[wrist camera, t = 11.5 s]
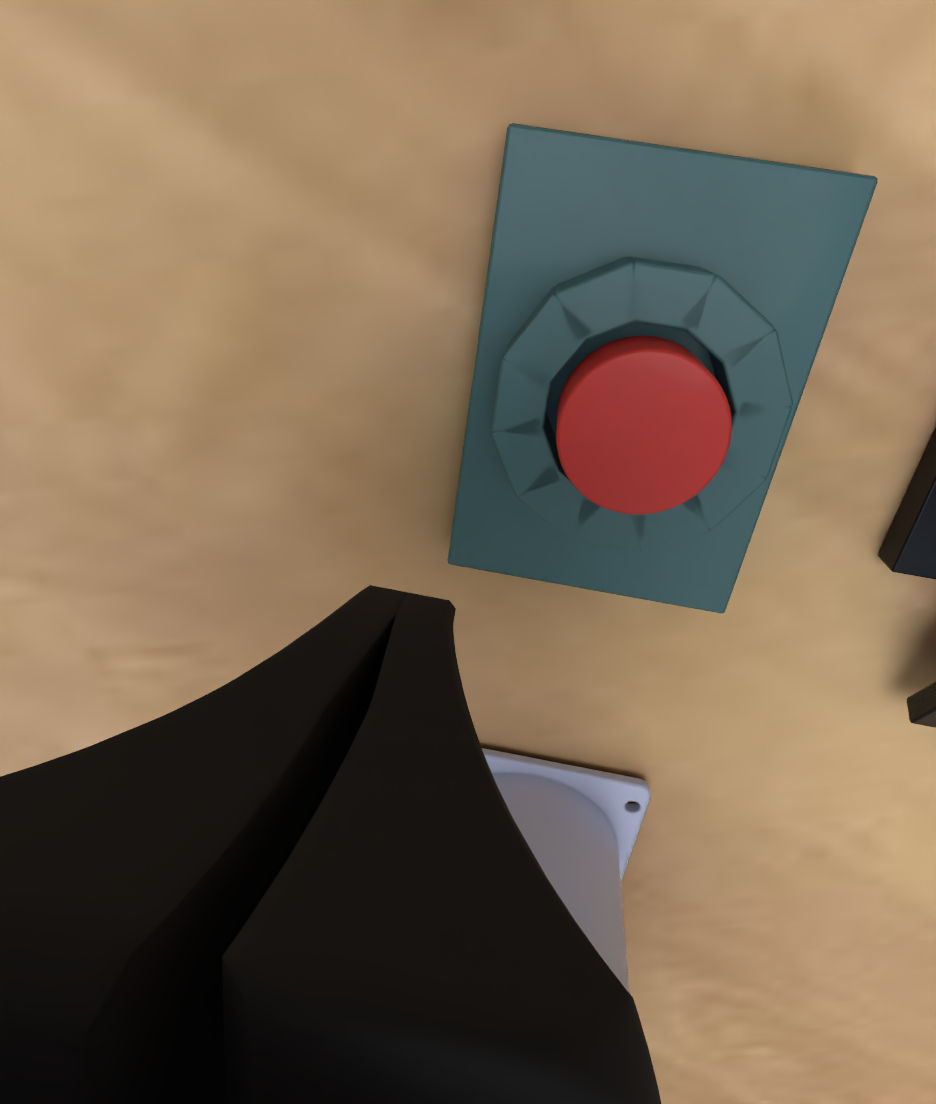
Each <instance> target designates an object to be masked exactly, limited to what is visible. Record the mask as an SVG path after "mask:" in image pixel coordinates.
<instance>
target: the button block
mask: <svg viewBox="0 0 936 1104" xmlns="http://www.w3.org/2000/svg"><path fill="white" fill-rule="evenodd" d="M876 184H877V178H876V177H875V176H869V175H862V174H855V173H848V172H842V171H835V170H828V169H821V168H814V167H807V166H800V165H794V164H787V163H780V162H773V161H766V160H759V159H753V158H746V157H739V156H732V155H725V154H718V153H711V152H705V151H698V150H691V149H684V148H677V147H670V146H664V145H657V144H650V143H643V142H636V141H629V140H622V139H616V138H609V137H602V136H595V135H588V134H581V133H575V132H568V131H561V130H554V129H547V128H540V127H533V126H527V125H520V124H513V123H512V124H509V126H508V128H507V135H506V142H505V149H504V156H503V164H502V171H501V178H500V185H499V193H498V200H497V207H496V214H495V222H494V229H493V236H492V243H491V250H490V258H489V265H488V272H487V279H486V287H485V294H484V301H483V308H482V316H481V323H480V330H479V337H478V345H477V352H476V359H475V366H474V373H473V381H472V388H471V395H470V402H469V410H468V417H467V424H466V431H465V439H464V446H463V453H462V460H461V467H460V475H459V482H458V489H457V496H456V504H455V511H454V518H453V525H452V533H451V540H450V547H449V554H448V563H449V564H451V565H457V566H462V567H468V568H473V569H479V570H485V571H490V572H496V573H501V574H507V575H512V576H518V577H523V578H529V579H534V580H540V581H545V582H551V583H557V584H562V585H568V586H573V587H579V588H584V589H590V590H595V591H601V592H606V593H612V594H617V595H623V596H629V597H634V598H640V599H645V600H651V601H656V602H662V603H667V604H673V605H678V606H684V607H690V608H695V609H701V610H706V611H712V612H717V613H724V612H725V610H726V607H727V604H728V601H729V598H730V596H731V593H732V590H733V587H734V584H735V582H736V579H737V576H738V573H739V570H740V568H741V565H742V562H743V559H744V556H745V553H746V551H747V548H748V545H749V542H750V539H751V537H752V534H753V531H754V528H755V525H756V522H757V520H758V517H759V514H760V511H761V508H762V506H763V503H764V500H765V497H766V494H767V491H768V489H769V486H770V483H771V480H772V477H773V475H774V472H775V469H776V466H777V463H778V460H779V458H780V455H781V452H782V449H783V446H784V444H785V441H786V438H787V435H788V432H789V429H790V427H791V424H792V421H793V418H794V415H795V413H796V410H797V407H798V404H799V401H800V398H801V396H802V393H803V390H804V387H805V384H806V382H807V379H808V376H809V373H810V370H811V368H812V365H813V362H814V359H815V356H816V353H817V351H818V348H819V345H820V342H821V339H822V337H823V334H824V331H825V328H826V325H827V322H828V320H829V317H830V314H831V311H832V308H833V306H834V303H835V300H836V297H837V294H838V291H839V289H840V286H841V283H842V280H843V277H844V275H845V272H846V269H847V266H848V263H849V260H850V258H851V255H852V252H853V249H854V246H855V244H856V241H857V238H858V235H859V232H860V229H861V227H862V224H863V221H864V218H865V215H866V213H867V210H868V207H869V204H870V201H871V199H872V196H873V193H874V190H875V187H876ZM631 336H655V337H660V338H664V339H667V340H670V341H673V342H675V343H677V344H679V345H681V346H683V347H685V348H686V349H687V350H689V351H690V352H691V353H693V354H694V355H695V356H696V357H697V358H698V359H699V360H700V361H701V362H702V364H703V365H704V366H705V367H706V368H707V369H708V370H709V371H710V372H711V374H712V375H713V376H714V377H715V378H716V380H717V381H718V382H719V384H720V385H721V387H722V389H723V391H724V393H725V395H726V397H727V400H728V403H729V406H730V412H731V417H732V432H731V440H730V444H729V448H728V451H727V454H726V457H725V459H724V461H723V463H722V465H721V467H720V469H719V470H718V472H717V473H716V475H715V476H714V477H713V479H712V480H711V481H710V482H709V483H708V484H707V485H706V486H705V488H703V489H702V490H701V491H700V492H699V493H698V494H696V495H695V496H694V497H692V498H691V499H689V500H688V501H686V502H684V503H682V504H680V505H678V506H676V507H674V508H671V509H668V510H666V511H662V512H657V513H652V514H636V515H633V514H624V513H619V512H615V511H611V510H608V509H606V508H603V507H601V506H599V505H597V504H595V503H593V502H592V501H590V500H589V499H588V498H586V497H585V496H584V495H583V494H581V493H580V492H579V491H578V490H577V489H576V488H575V486H574V485H573V484H572V483H571V482H570V480H569V478H568V477H567V475H566V474H565V472H564V469H563V467H562V465H561V462H560V459H559V455H558V450H557V442H556V431H557V412H558V404H559V400H560V396H561V393H562V390H563V388H564V385H565V383H566V382H567V380H568V378H569V376H570V375H571V373H572V372H573V371H574V369H575V368H576V367H577V365H578V364H579V363H580V362H581V361H582V360H583V359H584V358H585V357H587V356H588V355H589V354H590V353H592V352H593V351H595V350H596V349H598V348H599V347H601V346H603V345H605V344H607V343H609V342H612V341H615V340H618V339H621V338H625V337H631Z"/></svg>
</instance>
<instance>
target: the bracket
mask: <svg viewBox="0 0 936 1104" xmlns="http://www.w3.org/2000/svg"><path fill="white" fill-rule="evenodd" d="M879 558H880V559H881V560H882V561H883V562H884V563H885V564H886V565H887V566H888V567H889V569H890V570H891V571H893V572H898V573H903V574H909V575H915V576H920V577H926V578H932V579H936V429H935V431H934V434H933V436H932V438H931V440H930V442H929V445H928V447H927V449H926V451H925V453H924V456H923V458H922V460H921V462H920V464H919V467H918V469H917V471H916V473H915V475H914V478H913V480H912V482H911V484H910V487H909V489H908V491H907V493H906V495H905V498H904V500H903V502H902V504H901V506H900V509H899V511H898V513H897V515H896V517H895V520H894V522H893V524H892V526H891V529H890V531H889V533H888V535H887V537H886V540H885V542H884V544H883V546H882V548H881V551H880V553H879Z"/></svg>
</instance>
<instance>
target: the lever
mask: <svg viewBox="0 0 936 1104" xmlns="http://www.w3.org/2000/svg"><path fill="white" fill-rule="evenodd" d="M907 706H908V712H909V719H910V722H911V723H914V724H920V725H925V726H930V727H936V682H934V683H932V684H930V685H929V686H927V687H925V688H924V689H922V690H920V691H918V692H917V693H915V694H913V695H912V696H910V697H908V698H907Z"/></svg>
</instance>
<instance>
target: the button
mask: <svg viewBox="0 0 936 1104" xmlns="http://www.w3.org/2000/svg"><path fill="white" fill-rule="evenodd" d="M731 432H732V417H731V412H730V406H729V403H728V400H727V397H726V395H725V393H724V391H723V389H722V387H721V385H720V384H719V382H718V381H717V380H716V378H715V377H714V376H713V375H712V374H711V372H710V371H709V370H708V369H707V368H706V367H705V366H704V365H703V364H702V362H701V361H700V360H699V359H698V358H697V357H696V356H695V355H694V354H693V353H691V352H690V351H689V350H687V349H686V348H685V347H683V346H681V345H679V344H677V343H675V342H673V341H670V340H667V339H664V338H660V337H655V336H631V337H625V338H621V339H618V340H615V341H612V342H609V343H607V344H605V345H603V346H601V347H599V348H598V349H596V350H595V351H593V352H592V353H590V354H589V355H588V356H587V357H585V358H584V359H583V360H582V361H581V362H580V363H579V364H578V365H577V367H576V368H575V369H574V371H573V372H572V373H571V375H570V376H569V378H568V380H567V382H566V383H565V385H564V388H563V390H562V393H561V396H560V400H559V404H558V412H557V431H556V442H557V450H558V455H559V459H560V462H561V465H562V467H563V469H564V472H565V474H566V475H567V477H568V478H569V480H570V482H571V483H572V484H573V485H574V486H575V488H576V489H577V490H578V491H579V492H580V493H581V494H583V495H584V496H585V497H586V498H588V499H589V500H590V501H592V502H593V503H595V504H597V505H599V506H601V507H603V508H606V509H608V510H611V511H615V512H619V513H624V514H633V515H636V514H652V513H657V512H662V511H666V510H668V509H671V508H674V507H676V506H678V505H680V504H682V503H684V502H686V501H688V500H689V499H691V498H692V497H694V496H695V495H696V494H698V493H699V492H700V491H701V490H702V489H703V488H705V486H706V485H707V484H708V483H709V482H710V481H711V480H712V479H713V477H714V476H715V475H716V473H717V472H718V470H719V469H720V467H721V465H722V463H723V461H724V459H725V457H726V454H727V451H728V448H729V444H730V440H731Z"/></svg>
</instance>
